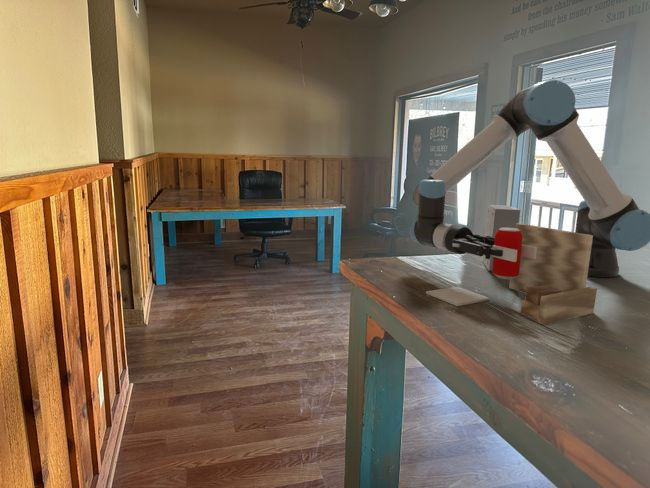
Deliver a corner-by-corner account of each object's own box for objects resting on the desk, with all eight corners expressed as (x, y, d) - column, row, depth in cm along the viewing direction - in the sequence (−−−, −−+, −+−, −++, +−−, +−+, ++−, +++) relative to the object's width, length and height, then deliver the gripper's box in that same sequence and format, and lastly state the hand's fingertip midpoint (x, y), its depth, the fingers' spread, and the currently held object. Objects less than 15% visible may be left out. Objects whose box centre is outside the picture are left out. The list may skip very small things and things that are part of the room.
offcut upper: (525, 299, 104) (526, 286, 104) (547, 298, 106) (548, 285, 105) (537, 304, 100) (538, 291, 100) (560, 303, 102) (561, 290, 101)
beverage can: (524, 279, 109) (528, 230, 106) (501, 280, 107) (505, 231, 105) (508, 273, 115) (513, 226, 112) (486, 274, 113) (490, 227, 111)
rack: (464, 295, 117) (471, 226, 113) (512, 287, 125) (519, 223, 122) (544, 325, 97) (554, 243, 94) (594, 312, 106) (605, 237, 102)
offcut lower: (520, 314, 104) (522, 300, 103) (539, 310, 107) (541, 296, 107) (540, 321, 100) (541, 306, 99) (559, 317, 103) (561, 302, 102)
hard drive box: (514, 273, 141) (521, 210, 137) (488, 271, 142) (494, 208, 138) (504, 262, 156) (510, 204, 152) (481, 261, 157) (487, 203, 153)
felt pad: (457, 288, 123) (457, 286, 123) (489, 300, 113) (489, 297, 113) (426, 293, 118) (426, 291, 117) (456, 306, 108) (457, 303, 108)
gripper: (477, 248, 130) (550, 265, 111) (426, 255, 121) (495, 274, 101) (479, 223, 129) (553, 235, 109) (427, 227, 120) (498, 242, 100)
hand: (525, 254), depth 105 cm, fingers closed on beverage can, 6 cm apart
